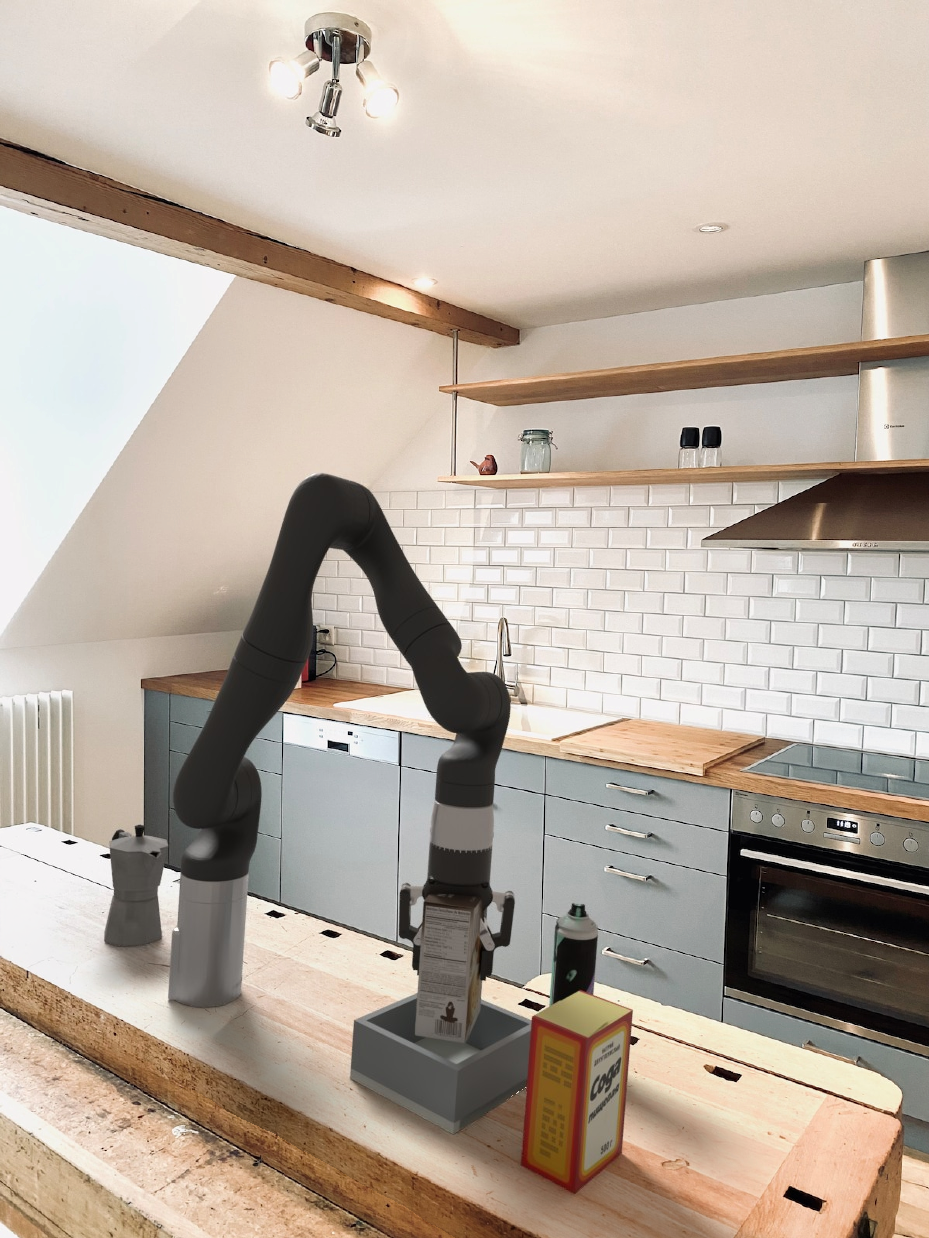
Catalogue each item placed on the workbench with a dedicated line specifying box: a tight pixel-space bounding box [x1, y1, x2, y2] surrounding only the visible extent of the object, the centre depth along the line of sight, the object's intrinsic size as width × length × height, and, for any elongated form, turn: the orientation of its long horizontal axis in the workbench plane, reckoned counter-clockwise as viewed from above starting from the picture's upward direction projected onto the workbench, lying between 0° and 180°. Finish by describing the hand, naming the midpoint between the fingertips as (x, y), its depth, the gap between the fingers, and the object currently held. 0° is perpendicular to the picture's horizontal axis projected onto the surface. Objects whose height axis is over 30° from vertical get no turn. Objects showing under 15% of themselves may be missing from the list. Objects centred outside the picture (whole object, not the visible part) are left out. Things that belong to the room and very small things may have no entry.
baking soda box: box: [520, 990, 634, 1195], centre depth 99 cm, size 10×6×16 cm
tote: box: [349, 992, 532, 1135], centre depth 113 cm, size 16×16×7 cm
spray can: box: [548, 902, 599, 1007], centre depth 121 cm, size 6×6×20 cm
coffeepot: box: [104, 824, 169, 948], centre depth 151 cm, size 15×9×18 cm, turn 44°
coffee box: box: [415, 894, 488, 1043], centre depth 113 cm, size 9×6×16 cm
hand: (451, 975), depth 113 cm, fingers closed on coffee box, 7 cm apart
